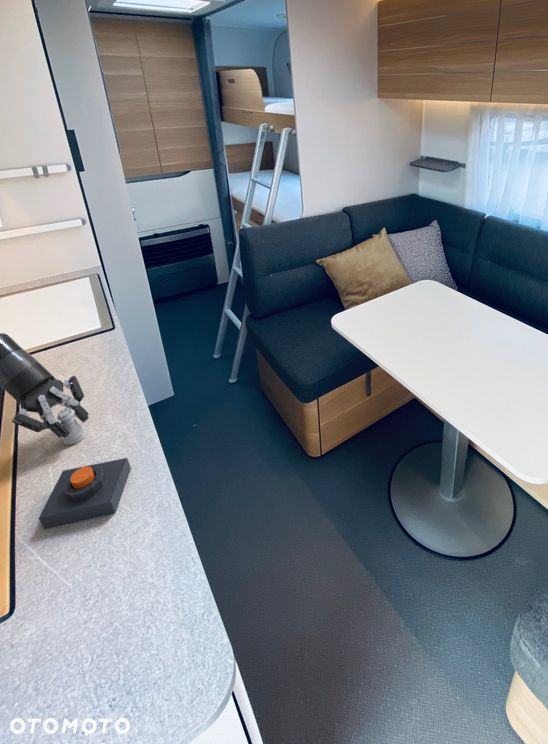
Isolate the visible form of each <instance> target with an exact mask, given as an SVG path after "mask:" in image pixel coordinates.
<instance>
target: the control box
mask: <svg viewBox="0 0 548 744" xmlns="http://www.w3.org/2000/svg"><path fill="white" fill-rule="evenodd" d="M87 466H88V467H91V468H92V470H93V472H94V475H95V477H94V480H93V481H92V482H91V483H90V484H89V485H88V486H86V487H84V488H82V489H74V488H73V486H72V484H71V481H70V478H71V476H72V474H73V473H74V472H75V471H77V470H78V469H80V468H82V467H87ZM131 470H132V467H131V465H130V462H129V459H128V457H124V458H119V459H115V460H110V461H105V462H100V463H95V464H88V465H83V466H80V467H75V468H69V469H64V470H62V471H61V474H60V475H59V477H58V479H57V482H56V483H55V485H54V487H53V489H52V491H51V492H50V495H49V497H48V499H47V500H46V503H45V505H44V507H43V508H42V511H41V512H40V515H39V516H38V520H39V522H40V524H41V526H42V528H43V529H44V530H48V529H52V528H57V527H61V526H65V525H69V524H75V523H78V522H82V521H88V520H92V519H96V518H100V517H105V516H110V515H113V514H116V513H117V510H118V508H119V504H120V501H121V498H122V496H123V492H124V489H125V487H126V484H127V481H128V478H129V475H130V473H131Z"/></svg>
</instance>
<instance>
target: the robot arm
mask: <svg viewBox="0 0 548 744" xmlns="http://www.w3.org/2000/svg"><path fill="white" fill-rule="evenodd" d="M64 387H65V388H66V389H69V390H70V392H71V395H72V396H71V395H69V394H68V393H65V392H64ZM0 388H2V389H3V390H4V391H5V392H7V394H8V395H10V396H11V397H12V398H13V399H14V400H15V401H16V402H17V403H18V404H19V405H20V411H18V413H16V414H15V415H14V416H13V418H12V420H11V423H13V424H15V425H17V426H20V427H23V428H26V429H28V430H30V431H33V432H36V433H41V432H42V431H44V430H47V429H48V430H51V432H52V433H54V435H55V436H56V437H58V438H60V439H61V438H62V437H64V438H65V437H66V436H68V435H69V433H70V432H69V431H68V430H67V429H66V428H65V427H64V426H63V425H62V424H61V421H60V420H57V419H56V418H55V416H54V415H53V411H52V408H53V407H55V406H57V405H59V406H61V407H64V408H69V407H70V408H71V409H72V410H74V411H75V413H74V416H75V417H76V418H77V419H78V420H80V422H82V423H85V422H87V420H89V415H90V414H89V411H87V410H86V409H85V408H84V407H83V406H82V405H81V401H82V400H83V399H84V398H85V394H84V391H83V390H82V387H81V385H80V383H79V380H78V378H77V376H76V375H71V376H70V377H69V378H67V379H64V380H60V379H57V378H56V377H54V375H53V374H52V372H51V373H50V371H49V370H47V369H46V367H45V366H44V365H42V364H41V362H39V361H38V360H37V359H36V358H35V357H34V356H33V355H32V354H30V353H29V352H27V351H26V350H25V349H24V348H22V346H20V345H19V343H17V342H16V341H15V340H14V338H12V337H11V336H10V335H8V334H7V333H4V332H3V333H2V332H0ZM28 412H29V413H37V414H38V416H39V418H40V420H38V419H35V418H33V417H31V416H30V414H29V413H28ZM56 420H57V421H56Z"/></svg>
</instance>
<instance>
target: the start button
mask: <svg viewBox="0 0 548 744" xmlns="http://www.w3.org/2000/svg"><path fill="white" fill-rule="evenodd" d="M86 466H87V467H84V466H81V467H82V468H80V469H78V470H77V471H75V472H74V473H73V474H72V476H71V478H70V481H71V484H72V486H73V488H74V489H82V488H84V487H86V486H88V485H89V484H90V483H91V482H92V481H93V480H94V477H95V475H94V472H93V470H92V468H91V467H88V465H86Z"/></svg>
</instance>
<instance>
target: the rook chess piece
mask: <svg viewBox="0 0 548 744" xmlns="http://www.w3.org/2000/svg"><path fill="white" fill-rule="evenodd" d="M74 413H75V411H74V410H72V409H71V408H70V407H69V408H67V407H64V409H60V410H59V412H57V419H56V420H57V421H59V422H60V423H61V424H62V425H63V426H64V427H65V428H66V429H67V430H68V431H69V432H70V433H69V435H68V436H66V437H65V438H64V437H61V438H62V441H63V444H65V445H74V444H77V443H79V442H80V441H82V440H83V439H85V437H86V434H87V429H85V427H84V426H83V425H82V424H79V423H78V421H77V420H76V416H75V415H74Z"/></svg>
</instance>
